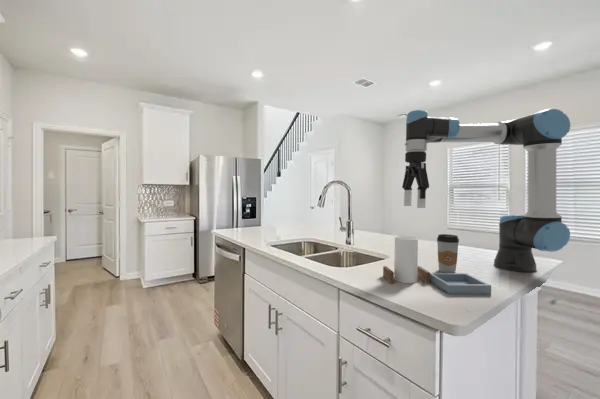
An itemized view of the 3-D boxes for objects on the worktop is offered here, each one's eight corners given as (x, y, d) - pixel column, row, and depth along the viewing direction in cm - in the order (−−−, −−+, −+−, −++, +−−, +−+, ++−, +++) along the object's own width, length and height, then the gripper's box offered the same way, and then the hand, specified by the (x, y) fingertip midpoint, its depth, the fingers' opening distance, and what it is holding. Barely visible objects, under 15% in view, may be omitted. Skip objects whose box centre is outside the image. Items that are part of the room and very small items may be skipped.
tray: (466, 281, 111) (466, 273, 111) (491, 294, 97) (491, 285, 97) (429, 281, 110) (429, 273, 110) (448, 294, 96) (448, 285, 96)
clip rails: (419, 276, 117) (419, 266, 117) (429, 283, 108) (430, 272, 108) (383, 276, 117) (383, 266, 117) (390, 283, 108) (390, 272, 108)
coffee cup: (436, 272, 122) (437, 236, 122) (435, 267, 130) (436, 233, 130) (459, 274, 119) (460, 237, 119) (457, 269, 127) (457, 234, 126)
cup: (414, 284, 107) (415, 240, 106) (391, 280, 111) (392, 238, 111) (419, 278, 114) (419, 237, 113) (397, 275, 118) (397, 235, 118)
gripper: (395, 155, 127) (393, 205, 128) (419, 147, 102) (417, 208, 103) (412, 155, 127) (411, 205, 128) (440, 147, 102) (438, 209, 103)
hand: (413, 206), depth 115 cm, fingers open, 13 cm apart
